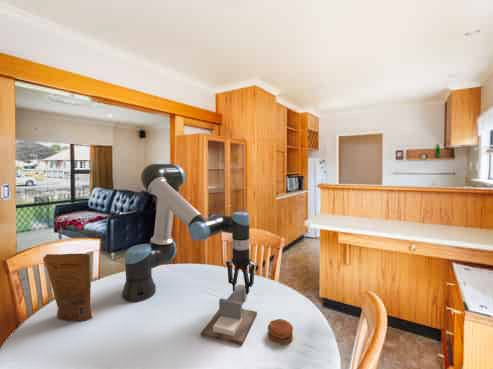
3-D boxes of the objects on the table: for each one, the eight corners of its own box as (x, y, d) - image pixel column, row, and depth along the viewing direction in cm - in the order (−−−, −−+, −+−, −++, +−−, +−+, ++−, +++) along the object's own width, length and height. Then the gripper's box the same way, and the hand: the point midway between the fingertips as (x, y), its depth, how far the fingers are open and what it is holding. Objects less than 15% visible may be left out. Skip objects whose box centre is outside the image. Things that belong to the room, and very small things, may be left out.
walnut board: (201, 335, 92) (201, 332, 92) (222, 308, 110) (222, 305, 110) (242, 345, 87) (242, 341, 87) (256, 315, 105) (256, 311, 105)
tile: (223, 316, 102) (213, 331, 92) (223, 311, 102) (213, 326, 92) (242, 319, 99) (233, 336, 90) (242, 315, 99) (233, 330, 90)
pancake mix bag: (86, 325, 98) (83, 256, 96) (44, 321, 101) (40, 253, 99) (99, 315, 105) (96, 250, 103) (59, 311, 108) (56, 248, 106)
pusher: (219, 314, 99) (219, 300, 98) (233, 296, 113) (233, 283, 113) (240, 319, 96) (240, 304, 96) (252, 299, 111) (252, 286, 110)
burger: (295, 345, 87) (295, 333, 87) (268, 345, 88) (268, 332, 87) (291, 327, 97) (291, 316, 97) (267, 327, 97) (267, 315, 97)
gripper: (219, 248, 107) (220, 300, 109) (256, 252, 102) (256, 307, 104) (226, 243, 114) (226, 292, 116) (261, 247, 109) (261, 298, 111)
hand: (240, 299), depth 110 cm, fingers closed on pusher, 3 cm apart
